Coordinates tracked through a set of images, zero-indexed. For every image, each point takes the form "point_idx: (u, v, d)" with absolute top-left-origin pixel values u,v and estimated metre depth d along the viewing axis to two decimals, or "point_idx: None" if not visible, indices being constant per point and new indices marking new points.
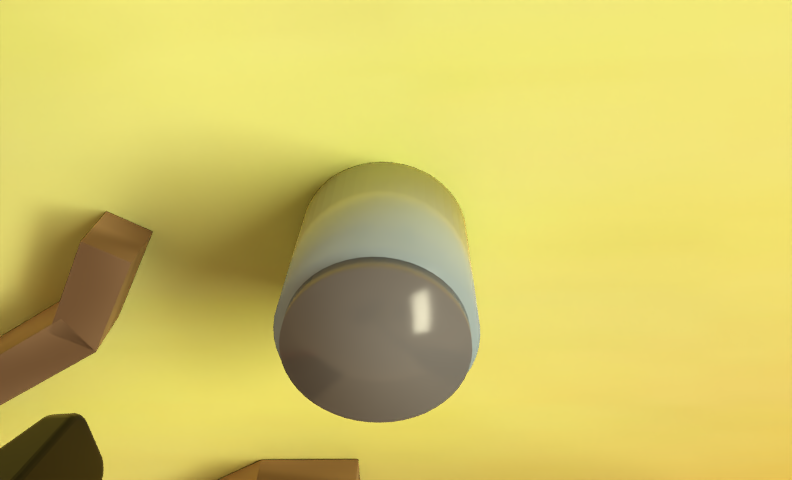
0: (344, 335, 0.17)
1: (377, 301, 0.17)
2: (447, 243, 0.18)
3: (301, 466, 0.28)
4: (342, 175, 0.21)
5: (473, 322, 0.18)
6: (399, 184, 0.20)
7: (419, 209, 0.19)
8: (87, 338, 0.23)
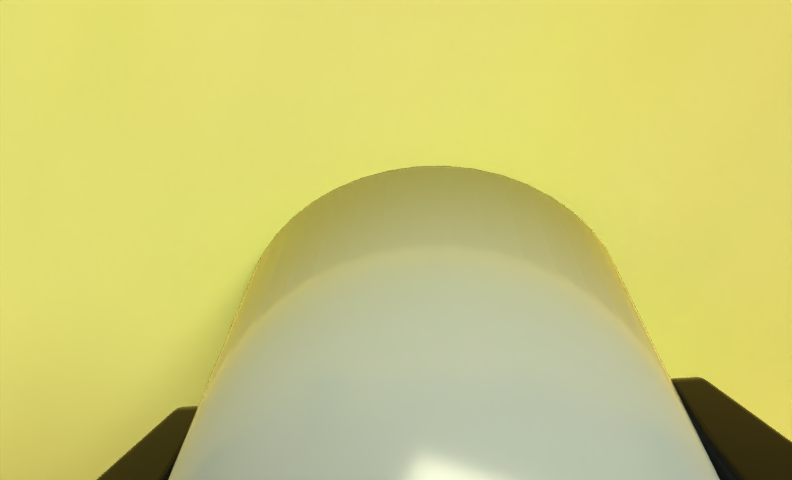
0: None
1: None
2: (321, 379, 0.05)
3: None
4: None
5: None
6: (248, 304, 0.08)
7: (257, 341, 0.06)
8: None
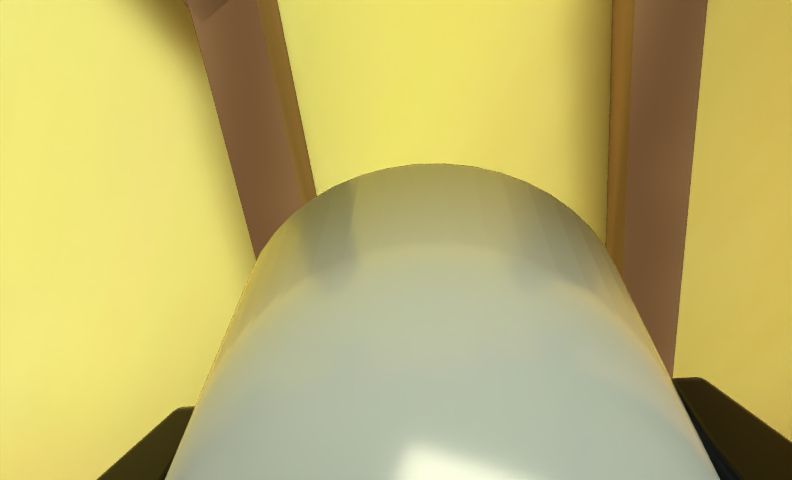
0: None
1: None
2: (320, 377, 0.05)
3: None
4: None
5: None
6: (246, 302, 0.08)
7: (255, 339, 0.06)
8: None
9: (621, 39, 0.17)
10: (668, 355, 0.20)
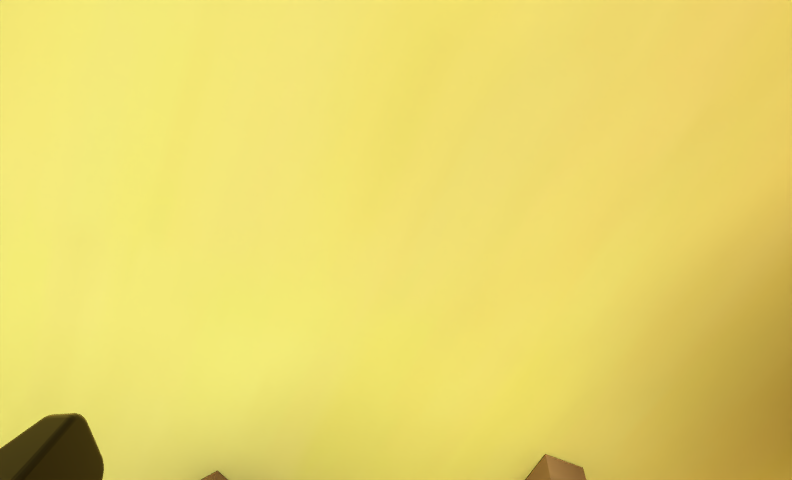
0: None
1: None
2: None
3: None
4: None
5: None
6: None
7: None
8: None
9: None
10: None
